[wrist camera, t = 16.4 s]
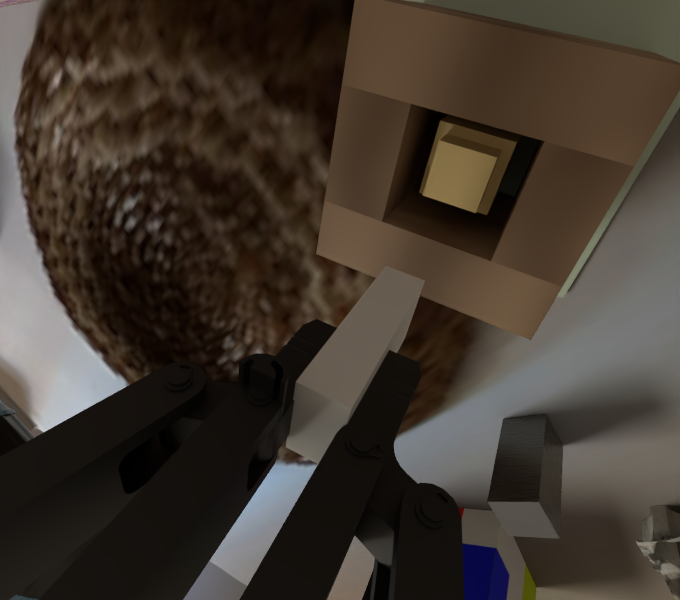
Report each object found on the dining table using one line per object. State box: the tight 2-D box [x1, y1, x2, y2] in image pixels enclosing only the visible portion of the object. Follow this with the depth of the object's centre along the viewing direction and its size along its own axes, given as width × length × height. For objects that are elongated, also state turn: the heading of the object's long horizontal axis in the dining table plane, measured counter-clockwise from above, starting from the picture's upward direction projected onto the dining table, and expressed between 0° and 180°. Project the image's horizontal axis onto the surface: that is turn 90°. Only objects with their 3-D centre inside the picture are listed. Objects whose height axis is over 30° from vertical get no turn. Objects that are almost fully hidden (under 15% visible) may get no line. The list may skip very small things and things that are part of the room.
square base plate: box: [405, 0, 680, 298], centre depth 19 cm, size 14×14×8 cm
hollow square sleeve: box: [316, 0, 680, 340], centre depth 19 cm, size 10×10×8 cm
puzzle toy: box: [362, 508, 536, 600], centre depth 37 cm, size 10×10×10 cm
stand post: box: [487, 414, 563, 539], centre depth 28 cm, size 3×3×7 cm
